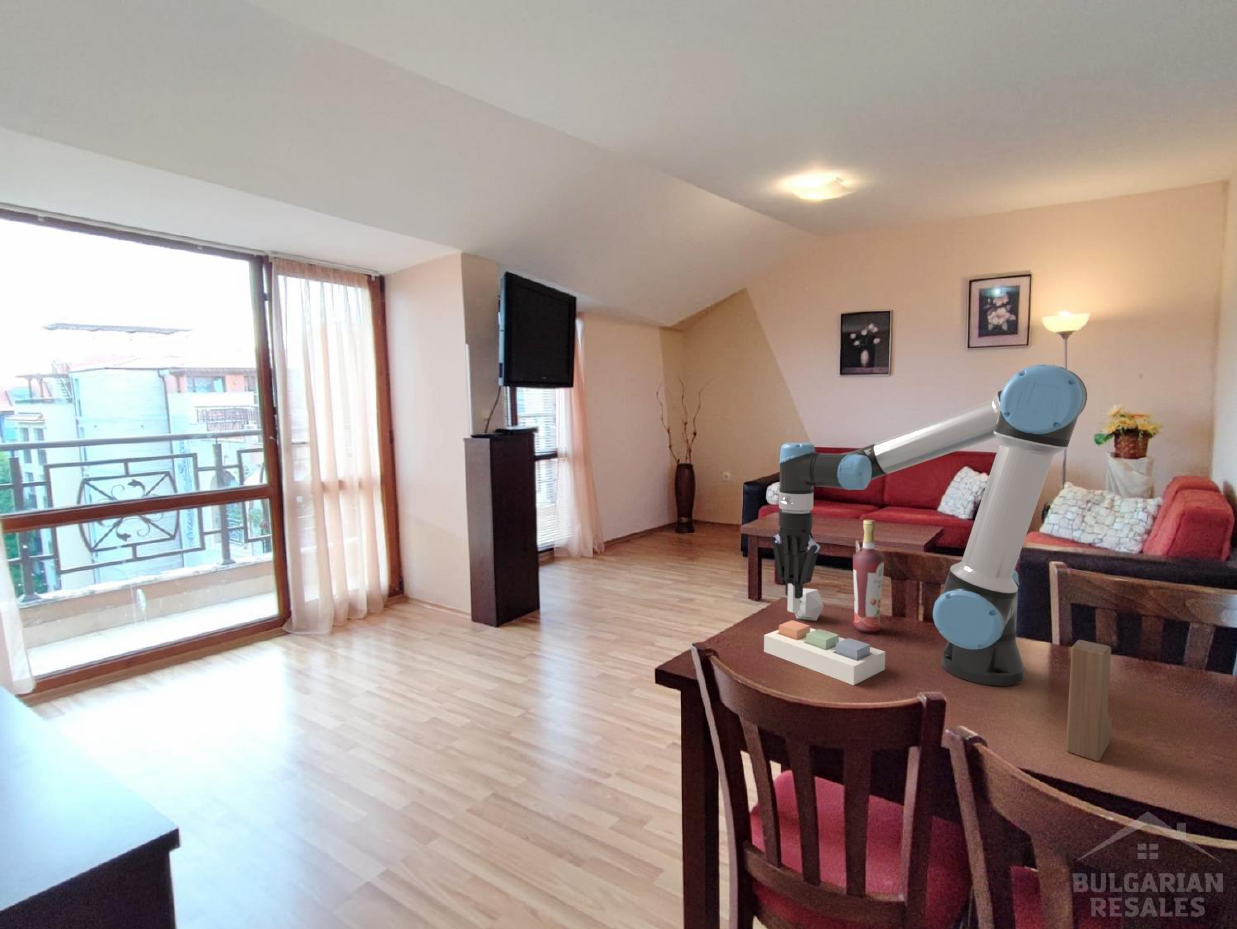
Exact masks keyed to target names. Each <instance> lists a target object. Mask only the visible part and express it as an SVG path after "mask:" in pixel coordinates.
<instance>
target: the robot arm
mask: <svg viewBox="0 0 1237 929" xmlns="http://www.w3.org/2000/svg"><path fill="white" fill-rule="evenodd" d="M1087 401H1088V392H1087V387H1086V385H1085V383H1084V381H1083V380H1082V379H1081V377H1079V376H1078V375H1077V374H1076V373H1074V372H1073V371H1071V370H1070V369H1067V368H1065V367H1063V366H1058V365H1055V364H1044V363H1043V364H1042V363H1041V364H1036V365H1032V366H1031V365H1030V366H1028V367H1026V368H1024V369H1022V370H1020V371H1018V372H1017V373H1015V374H1014V375H1013V376H1012V377H1011V378H1010V379H1009V380H1007V382H1006V384H1005V385H1004V386H1003V388H1002V390H999V391H997V392H995V394H994V396H993V398H992V399H989V400H987V401H984V402H982V403H979V404H976V405H973V406H971V407H968V408H966V409H963V410H960V411H957V412H955V413H952V414H950V415H949V414H948V415H947V416H944V417H941V418H939V419H936V420H933V421H931V422H929V423H925V424H924V425H920V426H918V427H915V428H912V429H909V430H907V431H904V432H901V433H899V434H897V435H894V436H891V437H888V438H886V439H884V440H881V441H877V442H876V443H872V444H870V445H867V446H864V447H861V448H859V449H856V450H851V451H848V452H842V453H825V452H824V453H822V452H817V451H816V448H815V445H814V444H813V443H810V442H808V443H807V442H786V443H783V444H782V445H781V447H780V453H779V454H780V455H779V462H778V464H779V488H778V490H779V493H778V494H779V495H778V496H779V497H778V500H779V501H778V508H779V509H780V510H779V512H778V526H779V530H778V532H777V534H776V535H773V536H770V537H769V541H770V543H771V545H772V548H773V555H774V559H775V565H776V571H777V577H778V578H779V579H782V580H783V581H784V582H785V584H784V585H785V592H784V593H785V595H786V596H787V606H786V607H787V612H789V613H794V612H796V611H799V610H800V598H802V596H803V588H804V585H806V584H808V583H811V582H812V578H813V574H814V570H815V566H816V562H817V559H818V555H819V553H820V551H821V550H822V548H823V546H822V544H821V543H817V542H816V541H815V540H814V536H813V533H812V529H813V526H814V524H813V523H814V513H813V512H812V510H813V509H814V487H817V488H818V487H822V488H831V489H840V490H841V489H842V490H847V491H852V490H855V491H856V490H857V491H858V490H860V491H861V490H862V491H863V490H865V489H867V488H868V487H869V486H868V485H869V484H870V482H871V481H873V480H875V479H877V478H880V477H883V476H886V475H889V474H892V473H894V472H897V471H900V470H903V469H907V468H909V467H912V466H915V465H918V464H922V463H924V462H927V461H931V460H933V459H937V458H939V457H942V456H945V455H948V454H950V453H951V454H952V453H954V452H958V451H960V450H964V449H965V448H966V449H967V448H969V447H972V446H975V445H977V444H981V443H984V442H986V441H987V442H988V441H989V440H992V439H995V438H996V439H997V441H998V443H999V445H998V448H997V450H996V454H995V458H994V461H993V463H992V466H991V470H990V473H989V476H988V479H987V482H986V485H985V488H984V491H983V494H982V496H981V500H980V504H979V506H978V510H977V513H976V515H975V520H974V522H973V525H972V528H971V532H970V535H969V538H968V540H967V544H966V548H965V550H964V553H963V556H962V560H961V561H959V562H957V563H954V564H952V565H951V566H950V567H949V570H948V574H947V578H946V580H945V584H944V587H943V589H942V593H941V595H939V596H938V597H937V599H936V600H935V602H934V605H933V609H932V610H933V611H932V619H933V622H934V625H935V628H936V629H937V631H938V632H939V634H940V635H941V636H943V638H944V639H945V640H947V644H946V646H945V648H944V650H943V653H942V660H941V663H942V667H943V669H944V670H945V671H947V672H948V673H949V674H951V675H953V676H956V677H958V678H959V679H963V680H965V681H969V682H972V683H977V684H980V685H981V684H982V685H989V686H999V687H1000V686H1001V687H1003V686H1004V687H1005V686H1006V687H1007V686H1008V687H1009V686H1014V684H1015V685H1017V683H1018V684H1020V683H1022V682H1024V680H1023V679H1025V665H1024V662H1023V658H1022V656H1021V653H1020V651H1019V650H1020V649H1019V647H1018V644H1017V639H1016V637H1017V635H1016V634H1017V619H1018V618H1017V616H1018V595H1019V592H1018V590H1019V586H1020V582H1019V574H1018V572H1017V571H1016V570H1015V569H1016V566H1017V563H1018V559H1019V558H1020V555H1021V551H1022V548H1023V546H1024V543H1025V540H1026V537H1027V534H1028V531H1029V528H1030V525H1031V523H1032V519H1033V517H1034V514H1035V512H1036V507H1037V504H1038V502H1039V500H1040V497H1041V493H1042V492H1043V488H1044V485H1045V483H1046V479H1047V476H1048V473H1049V471H1050V468H1051V465H1052V462H1053V459H1054V456H1055V455H1057V454H1059V453H1061V452H1063V451H1065V450H1067V449H1068V447H1069V444H1070V441H1071V438H1072V436H1073V433H1074V430H1075V427H1076V424H1077V421H1078V419H1079V416H1080V415H1081V413H1082V412H1083V411H1084V409H1085V407H1086V405H1087ZM1019 682H1020V683H1019Z"/></svg>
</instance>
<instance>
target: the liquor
mask: <svg viewBox="0 0 1237 929" xmlns="http://www.w3.org/2000/svg"><path fill="white" fill-rule="evenodd" d="M862 527H863V532H864V534H863V539H862V540H863V541H862V548H861V550H858V551H857V552H855V553H854V554H853V555H852V569H853V570H852V572H853V575H852V576H853V599H854V600H853V602H854V606H853V607H854V614H853V615H854V618H853V619H854V620H853V622H852V625H853V626H854V627H855V628H856V629H857V630H858V631H859V632H862V633H868V634H869V633H871V634H872V633H876V632H877V631H878V630H880V629H881V628H882V627H883V626H882V623H881V622H880V621H881V605H882V604H881V602H882V593H883V592H882V591H883V590H882V589H883V579H884V566H885V557H884V555H882V554H881V553H880V552H877V551H876V546H875V545H876V544H875V534H874V533H875V528H876V520H874V519H863V526H862Z"/></svg>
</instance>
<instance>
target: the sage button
mask: <svg viewBox="0 0 1237 929" xmlns="http://www.w3.org/2000/svg"><path fill="white" fill-rule="evenodd" d="M839 637H840V635H839V634H838V633H835V632H831V631H828V630H824V629H822V628H818V629H815V631H812V632H810V633H807V634H806V644H809V645H812V646H815V647H818V648H821V649H824V650H828V649H831V648H833V647H835V646H836V643H838V642H839Z"/></svg>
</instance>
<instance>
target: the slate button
mask: <svg viewBox="0 0 1237 929" xmlns="http://www.w3.org/2000/svg"><path fill="white" fill-rule="evenodd" d="M844 639H845V640H843V641H841V642H838V643H836V654H838V655H841V656H844V657H847V658H850V659H853V660H856V661H859V660H861V659H863V658H865V657H867V656H870V647H871V644H869V643H866V642H863V641H861V640H857V639H854V638H850V637H848V638H844Z"/></svg>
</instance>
